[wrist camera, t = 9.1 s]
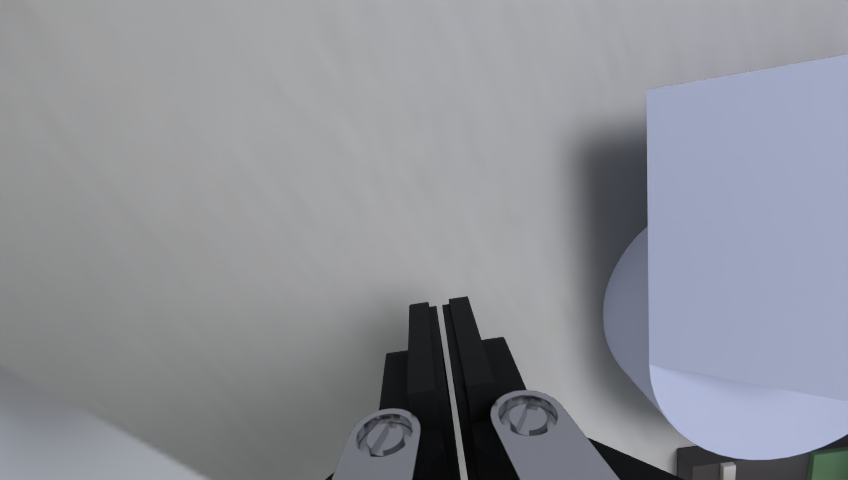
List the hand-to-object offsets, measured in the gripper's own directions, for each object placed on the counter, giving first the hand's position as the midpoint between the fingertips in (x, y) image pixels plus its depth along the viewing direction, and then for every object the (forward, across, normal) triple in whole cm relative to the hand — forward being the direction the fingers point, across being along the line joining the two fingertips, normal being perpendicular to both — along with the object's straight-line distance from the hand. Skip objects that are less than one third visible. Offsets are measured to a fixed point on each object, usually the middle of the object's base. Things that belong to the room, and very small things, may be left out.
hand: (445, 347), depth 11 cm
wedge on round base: (+5, -11, 0) cm, 12 cm away
